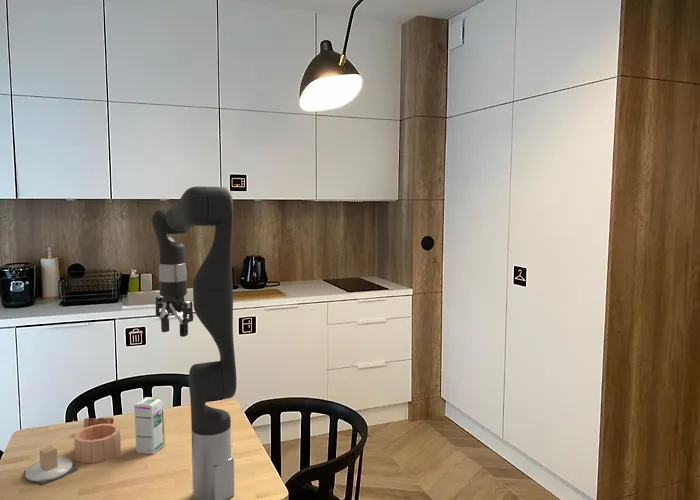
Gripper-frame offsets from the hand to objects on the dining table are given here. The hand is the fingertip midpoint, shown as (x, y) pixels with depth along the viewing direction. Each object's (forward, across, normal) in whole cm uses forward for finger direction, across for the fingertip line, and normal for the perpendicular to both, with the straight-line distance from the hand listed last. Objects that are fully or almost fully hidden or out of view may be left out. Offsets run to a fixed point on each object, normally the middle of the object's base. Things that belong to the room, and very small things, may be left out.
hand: (174, 333), depth 154 cm
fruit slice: (+33, +25, +10) cm, 43 cm away
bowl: (+33, +13, +17) cm, 39 cm away
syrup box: (+33, +3, +7) cm, 34 cm away
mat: (+33, +13, +30) cm, 47 cm away
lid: (+32, +13, +30) cm, 46 cm away
